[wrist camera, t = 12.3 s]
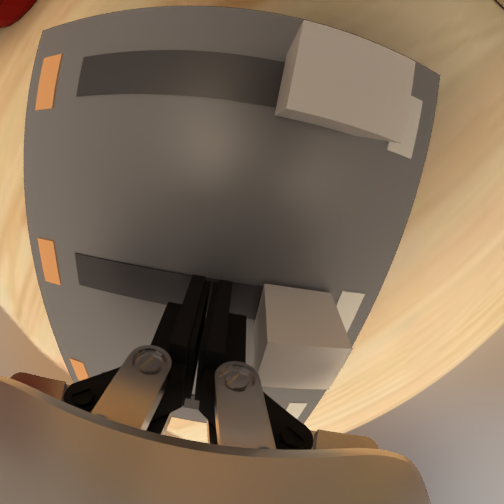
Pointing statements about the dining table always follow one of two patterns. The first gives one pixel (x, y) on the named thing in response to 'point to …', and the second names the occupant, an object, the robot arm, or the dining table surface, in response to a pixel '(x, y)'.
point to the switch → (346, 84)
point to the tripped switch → (298, 338)
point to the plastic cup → (13, 10)
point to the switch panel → (199, 181)
